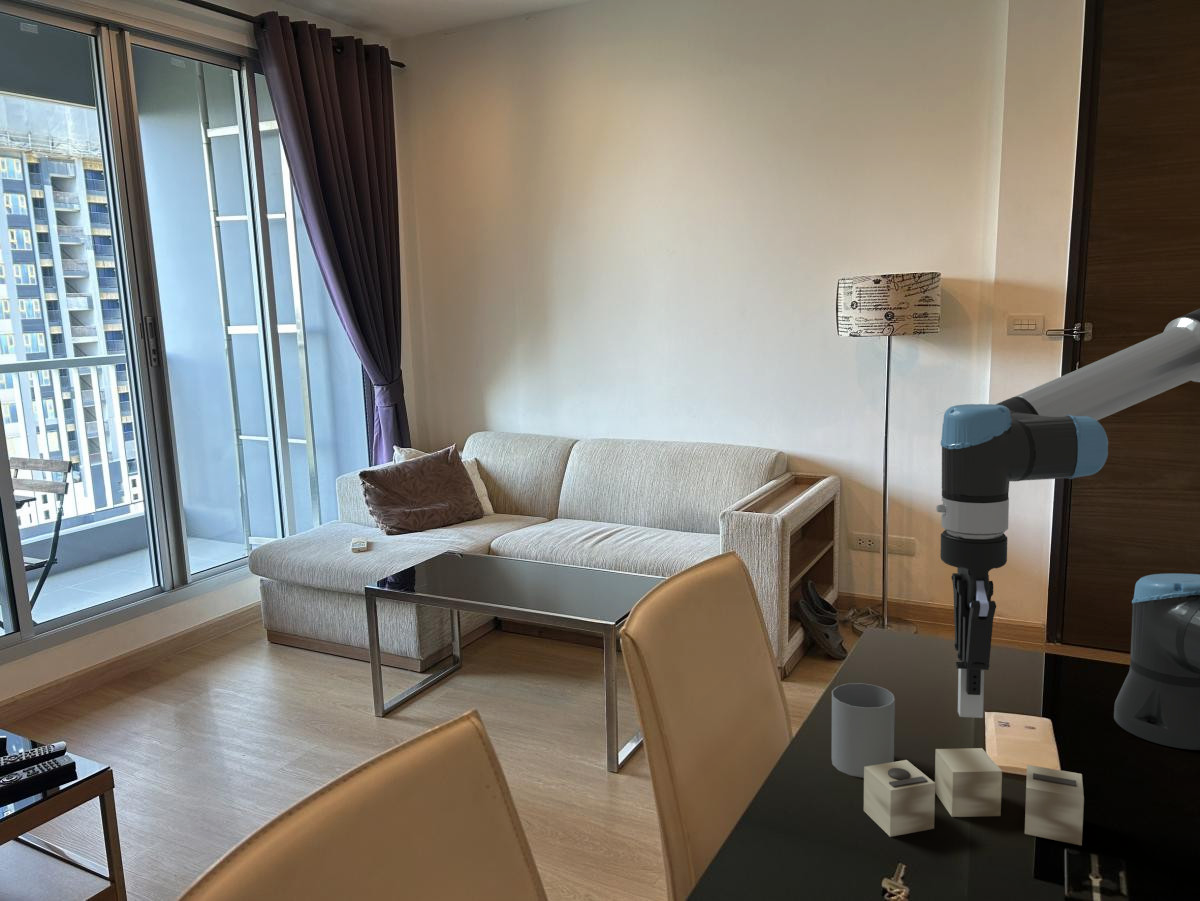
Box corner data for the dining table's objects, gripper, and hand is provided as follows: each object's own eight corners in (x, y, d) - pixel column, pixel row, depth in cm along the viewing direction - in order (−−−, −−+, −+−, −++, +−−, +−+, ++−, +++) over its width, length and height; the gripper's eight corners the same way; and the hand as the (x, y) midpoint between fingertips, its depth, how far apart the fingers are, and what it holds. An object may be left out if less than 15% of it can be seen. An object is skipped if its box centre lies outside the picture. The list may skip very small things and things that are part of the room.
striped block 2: (1079, 819, 108) (1081, 772, 107) (1081, 846, 103) (1083, 796, 102) (1025, 809, 111) (1027, 763, 110) (1024, 834, 105) (1026, 785, 104)
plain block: (980, 791, 115) (982, 748, 114) (1000, 816, 109) (1002, 771, 108) (934, 792, 115) (935, 749, 114) (951, 817, 109) (952, 772, 109)
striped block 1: (905, 803, 113) (906, 758, 112) (934, 829, 107) (935, 781, 106) (863, 811, 111) (864, 765, 110) (890, 837, 106) (890, 788, 105)
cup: (896, 780, 118) (897, 709, 117) (833, 776, 120) (833, 706, 119) (889, 750, 127) (890, 684, 125) (830, 747, 128) (830, 681, 127)
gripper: (932, 519, 114) (930, 692, 118) (951, 544, 102) (948, 737, 105) (993, 519, 113) (989, 694, 116) (1021, 545, 100) (1016, 740, 104)
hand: (970, 714), depth 111 cm, fingers closed
